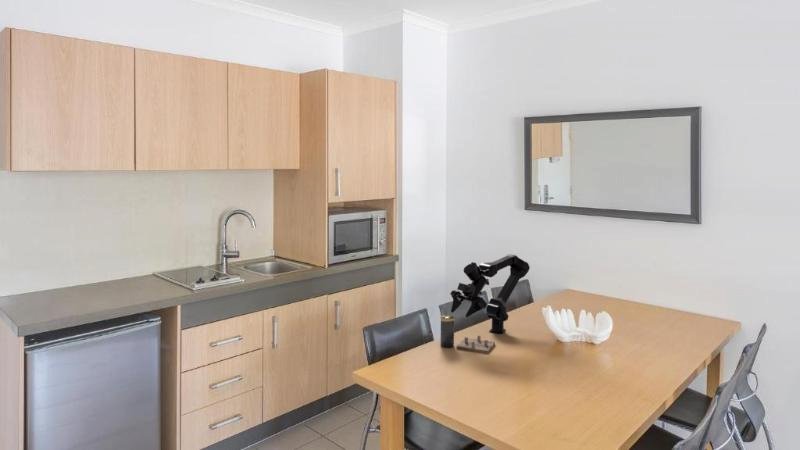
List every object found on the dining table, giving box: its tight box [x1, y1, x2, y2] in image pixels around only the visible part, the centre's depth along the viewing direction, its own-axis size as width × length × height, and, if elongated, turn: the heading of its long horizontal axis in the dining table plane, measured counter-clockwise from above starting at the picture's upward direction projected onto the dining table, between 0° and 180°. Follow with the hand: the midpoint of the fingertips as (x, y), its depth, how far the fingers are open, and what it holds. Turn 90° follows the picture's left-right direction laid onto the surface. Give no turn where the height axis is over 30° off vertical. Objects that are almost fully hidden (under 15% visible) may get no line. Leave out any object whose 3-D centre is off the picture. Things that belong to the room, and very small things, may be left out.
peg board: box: [456, 334, 496, 354], centre depth 241 cm, size 12×14×4 cm
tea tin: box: [440, 314, 455, 349], centre depth 242 cm, size 6×6×13 cm
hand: (458, 314), depth 245 cm, fingers open, 9 cm apart
